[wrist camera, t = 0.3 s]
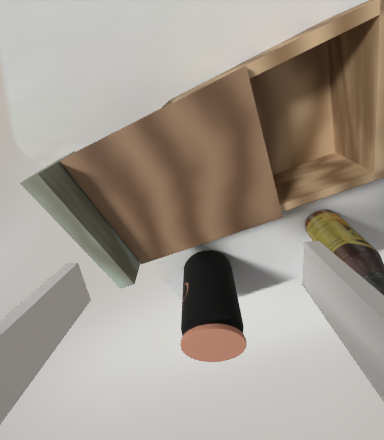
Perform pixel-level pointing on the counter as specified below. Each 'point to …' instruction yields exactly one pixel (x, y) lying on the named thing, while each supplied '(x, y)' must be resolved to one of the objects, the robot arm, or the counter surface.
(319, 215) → the sauce bottle
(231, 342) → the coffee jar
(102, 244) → the lid
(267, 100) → the chest
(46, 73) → the counter surface
